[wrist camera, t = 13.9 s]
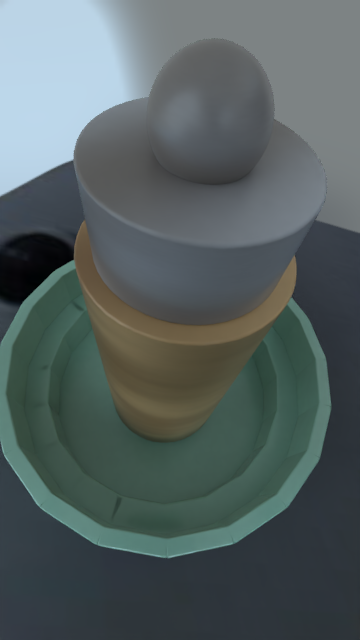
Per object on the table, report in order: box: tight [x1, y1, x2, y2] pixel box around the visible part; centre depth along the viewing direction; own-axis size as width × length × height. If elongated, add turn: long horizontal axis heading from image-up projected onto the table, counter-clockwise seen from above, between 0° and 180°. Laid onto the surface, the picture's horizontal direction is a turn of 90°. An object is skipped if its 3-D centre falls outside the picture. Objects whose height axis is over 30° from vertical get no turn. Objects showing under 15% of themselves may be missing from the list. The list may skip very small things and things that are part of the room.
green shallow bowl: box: [0, 260, 331, 558], centre depth 14 cm, size 13×13×4 cm
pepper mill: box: [74, 38, 327, 443], centre depth 10 cm, size 5×5×14 cm
